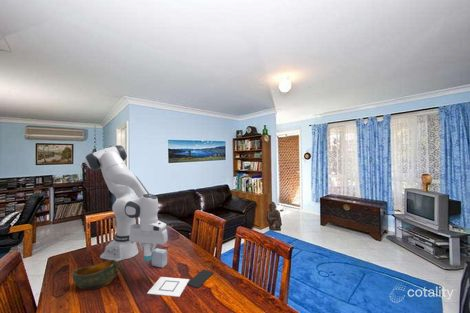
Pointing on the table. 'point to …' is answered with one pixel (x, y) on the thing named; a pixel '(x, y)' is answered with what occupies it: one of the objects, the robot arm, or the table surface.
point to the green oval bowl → (96, 275)
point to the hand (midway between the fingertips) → (147, 250)
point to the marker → (147, 251)
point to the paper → (169, 286)
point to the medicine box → (159, 257)
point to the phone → (200, 278)
